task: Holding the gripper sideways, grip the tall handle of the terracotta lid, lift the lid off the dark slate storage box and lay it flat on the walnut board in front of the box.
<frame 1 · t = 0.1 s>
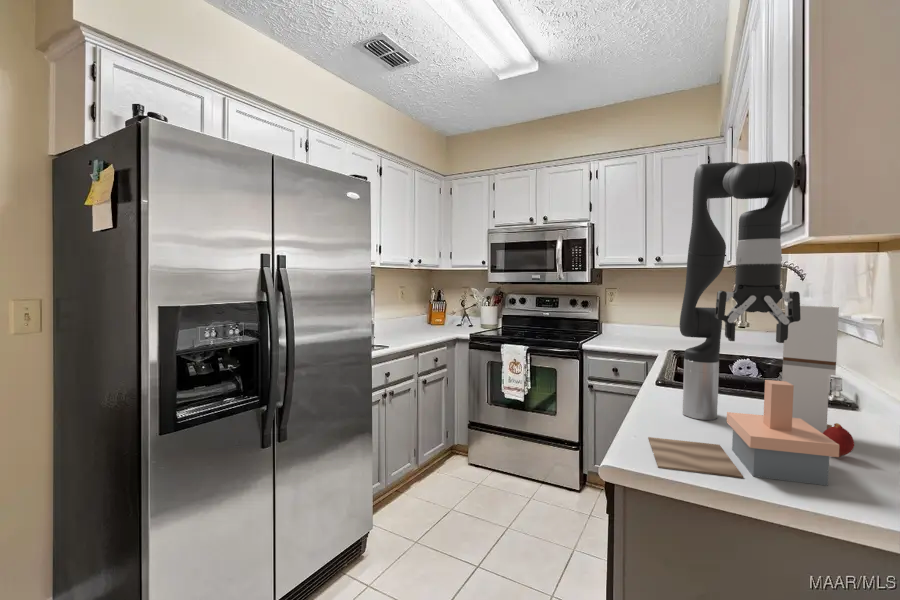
hand: (755, 341, 89), 29 cm above the countertop, tool pointing down, fingers open, 8 cm apart
board: (690, 456, 103), on the countertop
storage box: (775, 466, 98), on the countertop
lid: (776, 437, 97), point 6 cm above the countertop, touching storage box
white tall block: (805, 434, 118), on the countertop
pomegranate: (836, 457, 103), on the countertop
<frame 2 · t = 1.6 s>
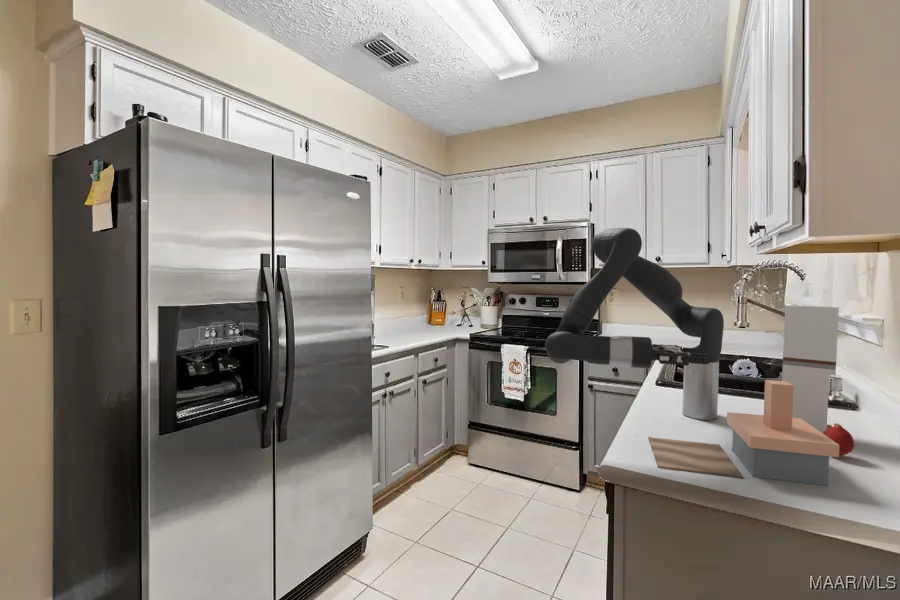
hand: (704, 356, 101), 24 cm above the countertop, tool horizontal, fingers open, 8 cm apart
nothing on the countertop moved.
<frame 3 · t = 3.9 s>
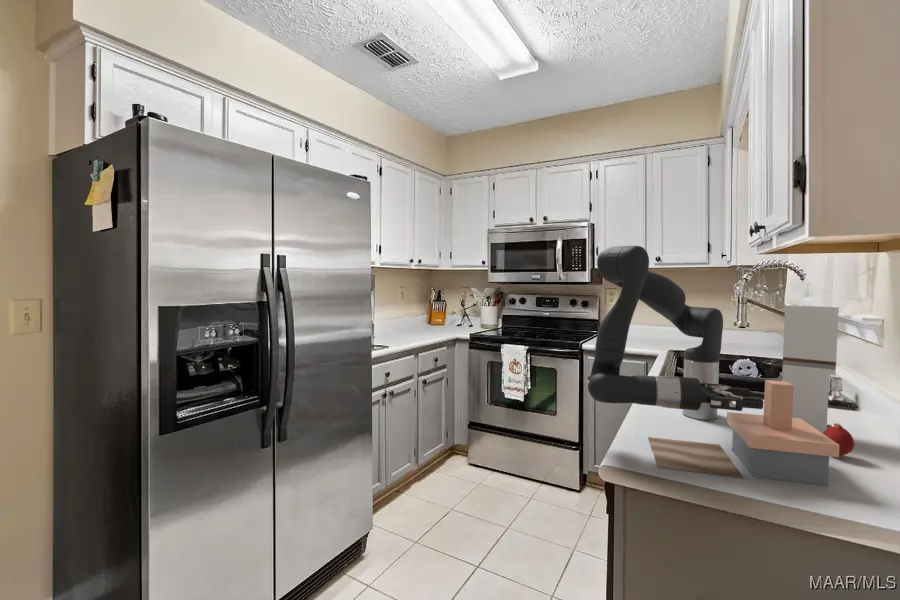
hand: (755, 398, 98), 15 cm above the countertop, tool horizontal, fingers open, 8 cm apart
nothing on the countertop moved.
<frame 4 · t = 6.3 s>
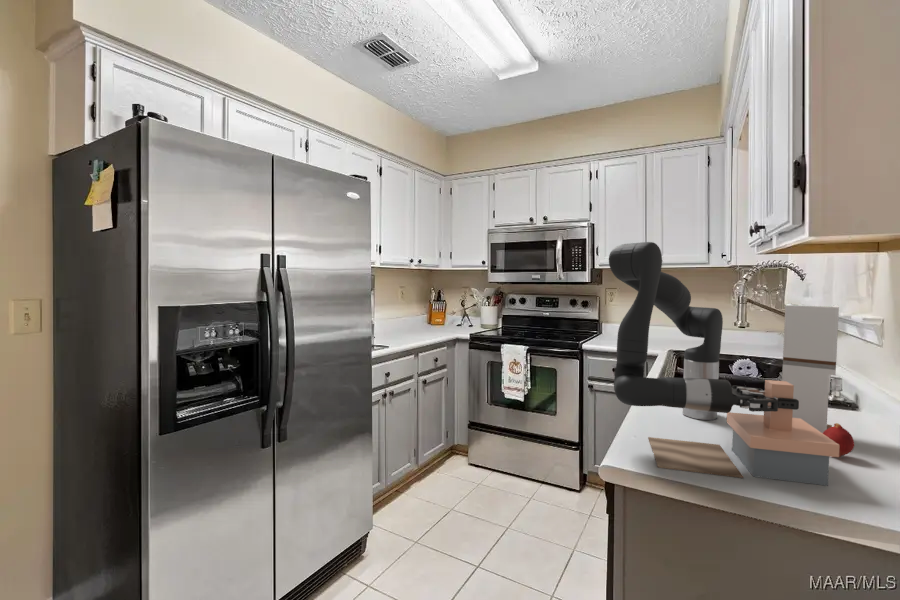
hand: (792, 401, 96), 15 cm above the countertop, tool horizontal, fingers closed on lid, 4 cm apart
lid: (776, 437, 97), point 6 cm above the countertop, touching gripper, storage box
everything else where it was.
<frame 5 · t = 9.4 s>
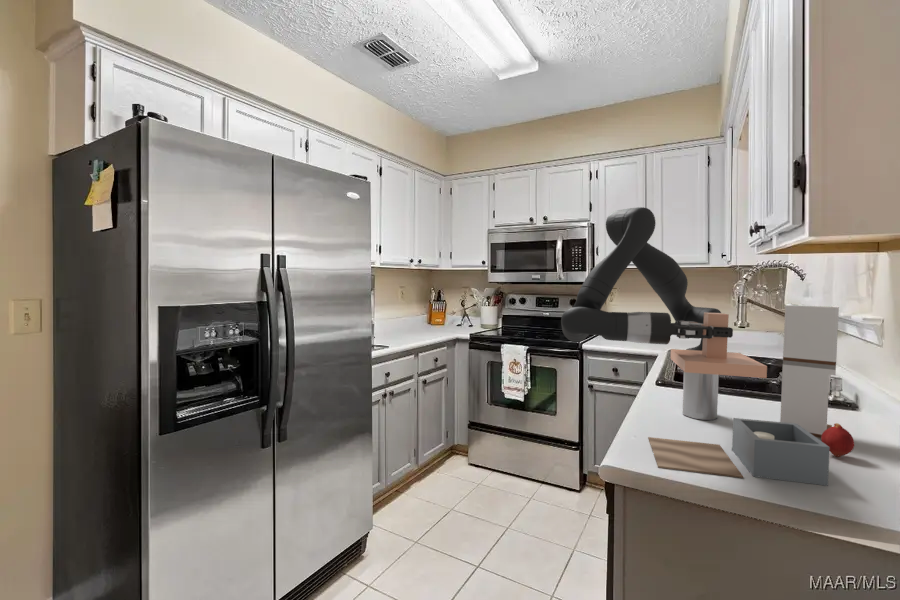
hand: (728, 331, 99), 30 cm above the countertop, tool horizontal, fingers closed on lid, 4 cm apart
lid: (713, 367, 101), point 22 cm above the countertop, touching gripper
everything else where it was.
when the fingers open (10 cm above the countertop, at t = 12.9 s): lid drops 1 cm, resting on board.
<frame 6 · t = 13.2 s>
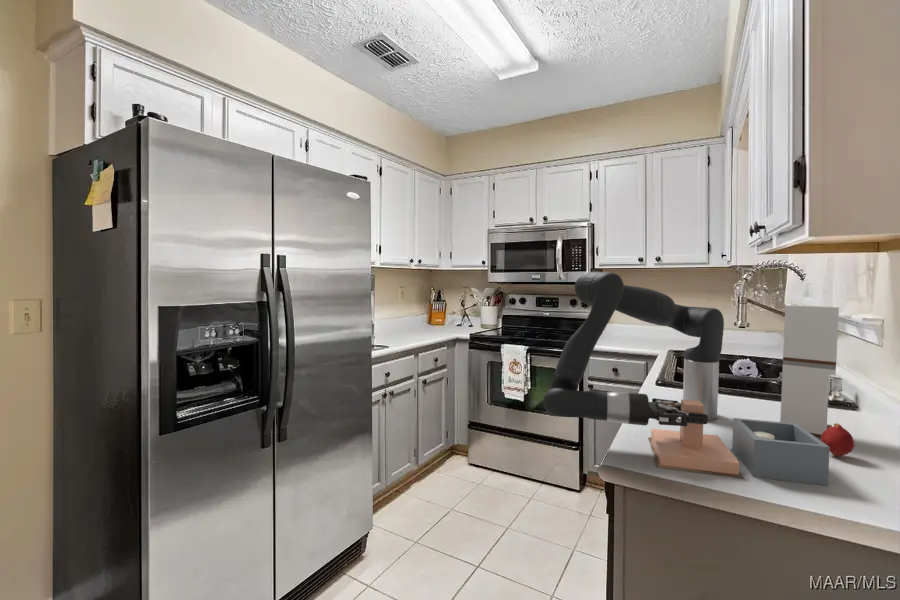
hand: (703, 414, 102), 10 cm above the countertop, tool horizontal, fingers open, 6 cm apart
lid: (690, 454, 103), resting on board
everything else where it was.
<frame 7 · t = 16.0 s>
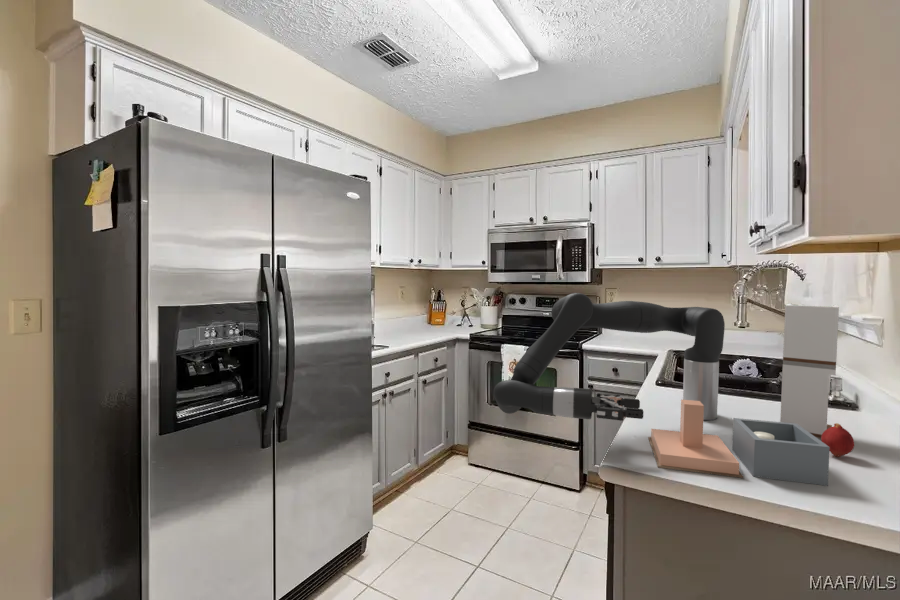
hand: (641, 408, 106), 10 cm above the countertop, tool horizontal, fingers open, 8 cm apart
nothing on the countertop moved.
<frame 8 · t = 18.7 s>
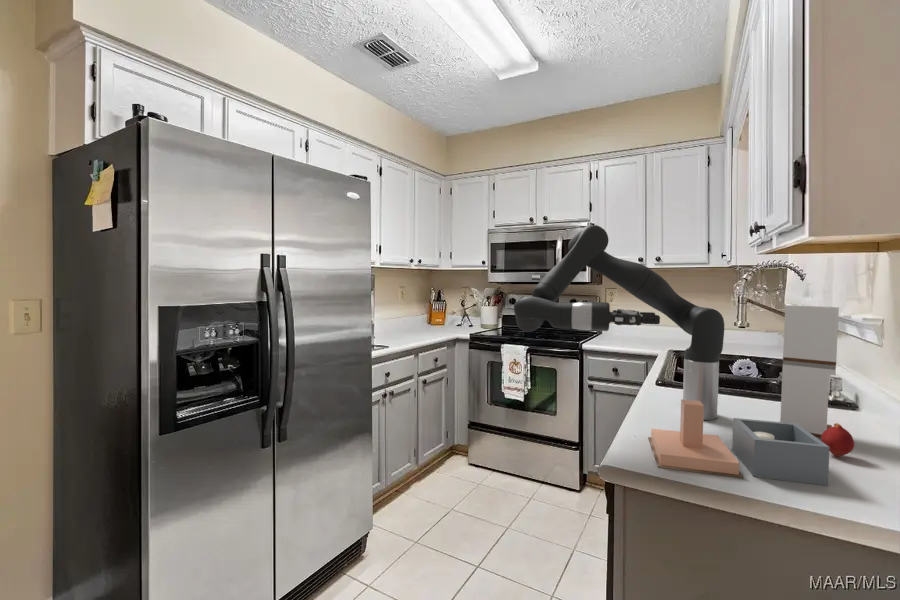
hand: (657, 318, 110), 32 cm above the countertop, tool horizontal, fingers open, 8 cm apart
nothing on the countertop moved.
at the end: lid inside the target area on the board (0.0 cm from its centre), point 0.4 cm above the board's base; lid tilted 0°; the gripper is holding nothing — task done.
